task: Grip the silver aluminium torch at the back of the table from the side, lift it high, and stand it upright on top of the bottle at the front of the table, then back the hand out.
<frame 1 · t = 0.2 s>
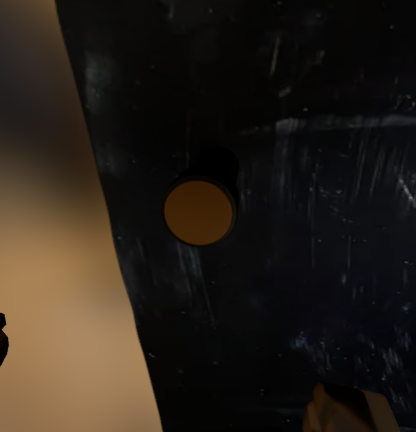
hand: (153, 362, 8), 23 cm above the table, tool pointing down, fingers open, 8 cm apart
torch: (218, 166, 30), on the table
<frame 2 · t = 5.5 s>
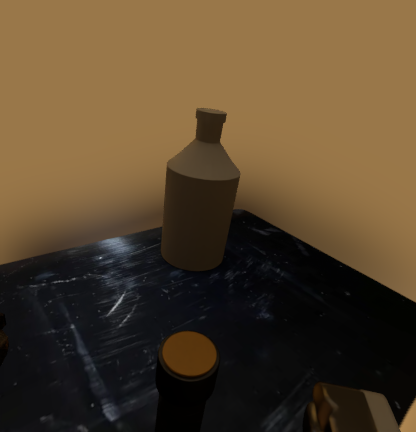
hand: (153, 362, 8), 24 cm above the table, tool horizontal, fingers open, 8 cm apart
bottle: (192, 253, 59), on the table
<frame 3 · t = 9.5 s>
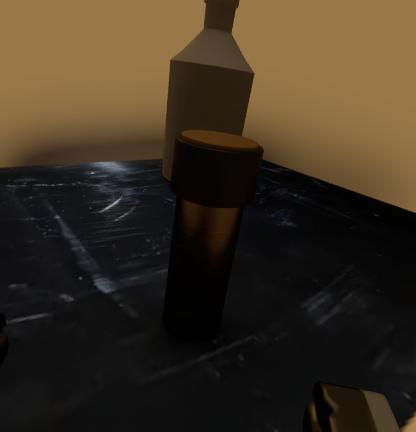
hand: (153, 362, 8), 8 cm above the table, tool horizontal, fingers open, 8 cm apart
torch: (191, 320, 21), on the table
bottle: (197, 178, 52), on the table
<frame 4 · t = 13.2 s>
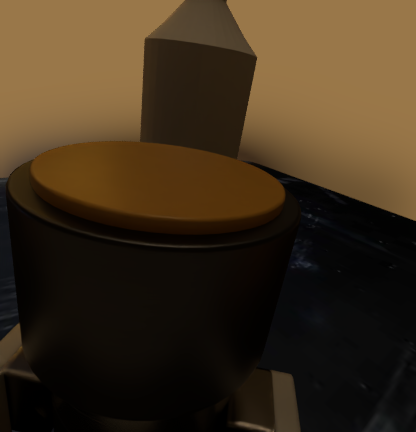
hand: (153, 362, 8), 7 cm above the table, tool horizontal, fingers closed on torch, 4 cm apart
bottle: (183, 194, 41), on the table
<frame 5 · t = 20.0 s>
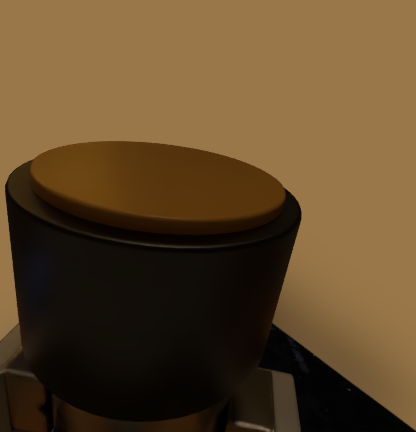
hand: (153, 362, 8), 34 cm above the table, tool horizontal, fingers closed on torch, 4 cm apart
when the fingers open (32 cm above the table, at t = 26.7 s): torch stays where it is, resting on bottle.
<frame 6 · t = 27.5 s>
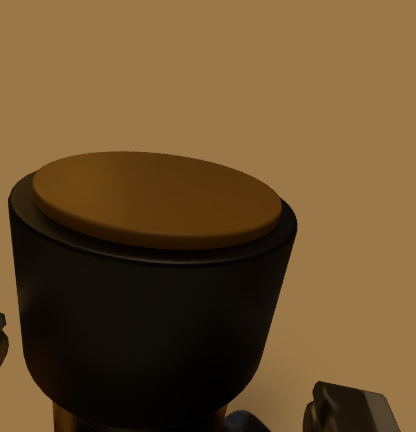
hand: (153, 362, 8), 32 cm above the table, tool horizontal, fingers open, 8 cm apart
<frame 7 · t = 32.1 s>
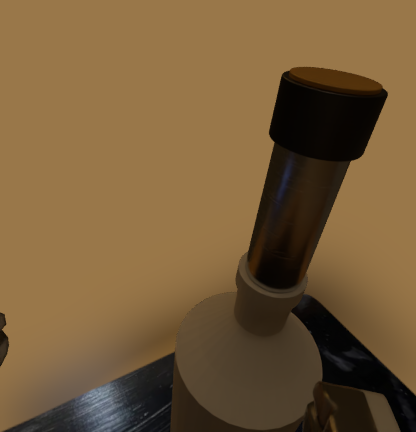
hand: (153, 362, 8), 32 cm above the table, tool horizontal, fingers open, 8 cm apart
torch: (273, 271, 21), point 25 cm above the table, touching bottle
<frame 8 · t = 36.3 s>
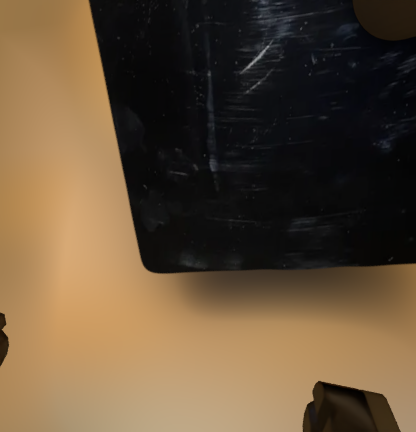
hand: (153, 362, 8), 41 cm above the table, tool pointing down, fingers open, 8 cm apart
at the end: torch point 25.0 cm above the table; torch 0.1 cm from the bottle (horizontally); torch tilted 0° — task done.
